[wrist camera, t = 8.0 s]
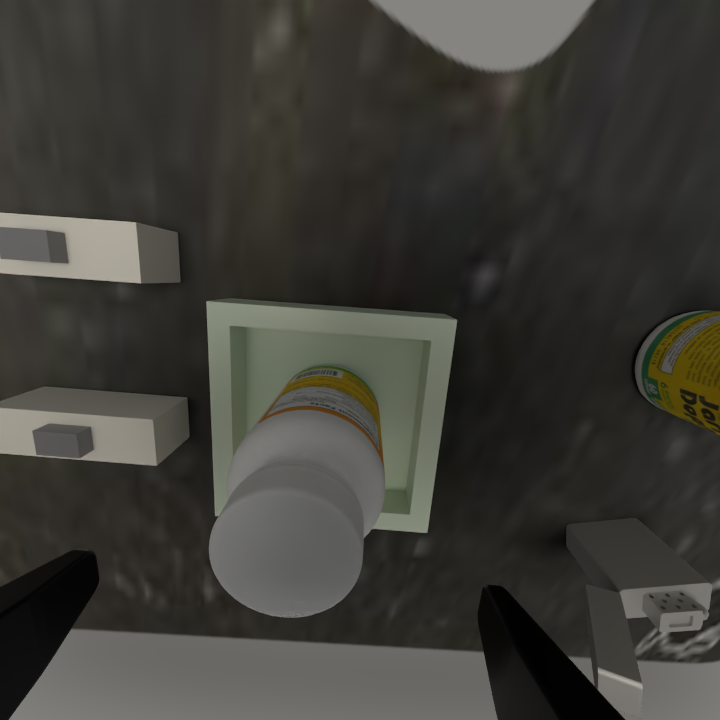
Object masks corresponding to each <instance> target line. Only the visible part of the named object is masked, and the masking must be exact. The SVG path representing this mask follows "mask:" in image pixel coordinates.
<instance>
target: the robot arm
mask: <svg viewBox="0 0 720 720" xmlns="http://www.w3.org/2000/svg"><path fill="white" fill-rule="evenodd" d="M98 583H99V572H98V565H97V559H96V554H95V552H94V551H92V550H84V549H74V550H72V551H69V552H67V553H65V554H64V555H62V556H60V557H58V558H56V559H54V560H52V561H50V562H48V563H46V564H44V565H42V566H40V567H38V568H36V569H35V570H33V571H31V572H29V573H27V574H25V575H23V576H21V577H19V578H17V579H15V580H13V581H11V582H9V583H7V584H6V585H4V586H2V587H0V720H9V718H10V717H11V716H12V714H13V713H14V712H15V710H16V709H17V707H18V706H19V705H20V703H21V702H22V701H23V699H24V698H25V697H26V695H27V694H28V693H29V691H30V690H31V688H32V687H33V686H34V684H35V683H36V682H37V680H38V679H39V677H40V676H41V675H42V673H43V672H44V670H45V669H46V667H47V666H48V664H49V663H50V661H51V660H52V658H53V656H54V655H55V654H56V652H57V650H58V649H59V647H60V646H61V644H62V642H63V641H64V639H65V638H66V636H67V635H68V633H69V632H70V630H71V628H72V627H73V625H74V624H75V622H76V620H77V619H78V617H79V616H80V614H81V613H82V611H83V609H84V608H85V606H86V605H87V603H88V602H89V600H90V598H91V597H92V595H93V594H94V592H95V590H96V588H97V586H98ZM478 625H479V630H480V635H481V640H482V645H483V650H484V655H485V660H486V666H487V670H488V676H489V681H490V685H491V691H492V696H493V700H494V705H495V710H496V714H497V718H498V720H625V719H624V718H623V717H622V716H621V715H620V714H619V713H618V711H617V710H616V709H615V708H614V707H613V706H612V705H611V704H610V703H609V701H608V700H607V699H606V698H605V697H604V696H603V695H602V694H601V693H600V692H599V691H598V689H597V688H596V687H595V686H594V685H593V684H592V683H591V682H590V681H589V680H588V679H587V677H586V676H585V675H584V674H583V673H582V672H581V671H580V670H579V669H578V668H577V667H576V665H575V664H574V663H573V662H572V661H571V660H570V659H569V658H568V657H567V656H566V655H565V653H564V652H563V651H562V650H561V649H560V648H559V647H558V646H557V645H556V644H555V643H554V641H553V640H552V639H551V638H550V637H549V636H548V635H547V634H546V633H545V632H544V631H543V629H542V628H541V627H540V626H539V625H538V624H537V623H536V622H535V621H534V620H533V619H532V617H531V616H530V615H529V614H528V613H527V612H526V611H525V610H524V609H523V608H522V607H521V605H520V604H519V603H518V602H517V601H516V600H515V599H514V598H513V597H512V596H511V595H510V593H509V592H508V591H507V590H506V589H505V588H503V587H502V586H496V585H485V586H484V587H483V589H482V594H481V599H480V604H479V609H478Z"/></svg>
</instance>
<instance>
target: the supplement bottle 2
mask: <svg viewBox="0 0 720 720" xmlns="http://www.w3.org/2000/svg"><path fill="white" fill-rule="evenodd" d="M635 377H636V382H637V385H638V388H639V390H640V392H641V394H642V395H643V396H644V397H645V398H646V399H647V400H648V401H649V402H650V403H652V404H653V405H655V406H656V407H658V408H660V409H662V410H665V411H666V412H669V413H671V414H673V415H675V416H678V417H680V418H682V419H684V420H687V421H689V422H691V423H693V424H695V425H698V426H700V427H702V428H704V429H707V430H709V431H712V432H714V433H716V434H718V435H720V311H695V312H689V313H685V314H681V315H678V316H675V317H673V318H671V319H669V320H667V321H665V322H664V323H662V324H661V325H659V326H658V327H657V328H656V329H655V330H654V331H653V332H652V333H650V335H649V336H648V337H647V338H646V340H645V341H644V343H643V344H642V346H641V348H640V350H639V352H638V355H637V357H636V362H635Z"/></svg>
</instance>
